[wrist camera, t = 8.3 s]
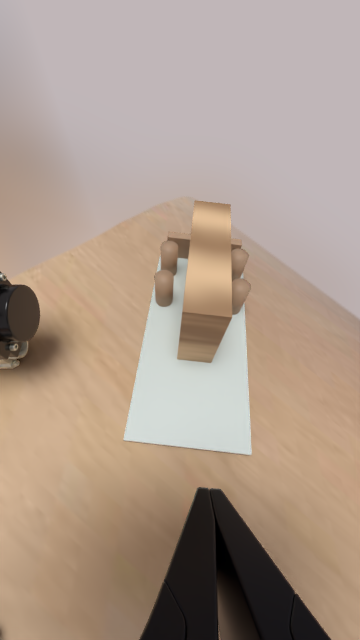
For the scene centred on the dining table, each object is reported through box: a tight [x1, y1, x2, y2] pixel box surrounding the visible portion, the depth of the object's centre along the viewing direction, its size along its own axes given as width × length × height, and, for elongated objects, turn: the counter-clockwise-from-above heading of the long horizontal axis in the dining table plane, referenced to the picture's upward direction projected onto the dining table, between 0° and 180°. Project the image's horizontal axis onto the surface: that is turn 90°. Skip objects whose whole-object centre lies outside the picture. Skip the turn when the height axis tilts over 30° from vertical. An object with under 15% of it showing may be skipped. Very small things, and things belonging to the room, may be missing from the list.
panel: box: [124, 232, 252, 455], centre depth 25 cm, size 23×11×5 cm, turn 174°
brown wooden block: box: [177, 201, 232, 363], centre depth 24 cm, size 13×4×9 cm, turn 174°
